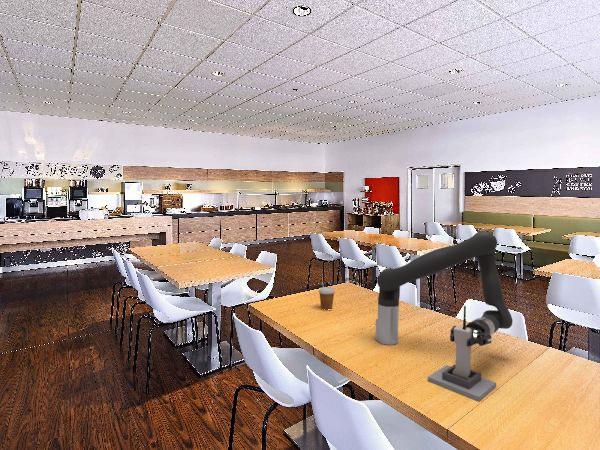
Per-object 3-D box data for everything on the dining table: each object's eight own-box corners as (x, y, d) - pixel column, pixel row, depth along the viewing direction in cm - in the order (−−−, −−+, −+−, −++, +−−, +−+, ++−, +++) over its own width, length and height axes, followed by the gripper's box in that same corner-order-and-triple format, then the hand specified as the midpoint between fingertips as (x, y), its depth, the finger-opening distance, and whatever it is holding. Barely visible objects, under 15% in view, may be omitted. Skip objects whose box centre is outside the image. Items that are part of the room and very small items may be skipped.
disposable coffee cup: (317, 311, 214) (317, 290, 213) (319, 306, 223) (319, 286, 222) (334, 311, 212) (334, 291, 211) (335, 307, 221) (335, 287, 221)
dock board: (427, 380, 133) (427, 370, 133) (446, 368, 143) (446, 358, 142) (479, 401, 120) (479, 389, 120) (496, 386, 129) (496, 375, 129)
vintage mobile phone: (455, 370, 134) (457, 303, 132) (470, 374, 131) (472, 305, 129) (452, 374, 131) (454, 305, 129) (467, 378, 128) (469, 308, 126)
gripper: (461, 314, 145) (440, 325, 133) (501, 324, 134) (481, 336, 123) (461, 333, 145) (439, 345, 134) (500, 344, 135) (480, 358, 123)
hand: (459, 341), depth 128 cm, fingers closed on vintage mobile phone, 5 cm apart
